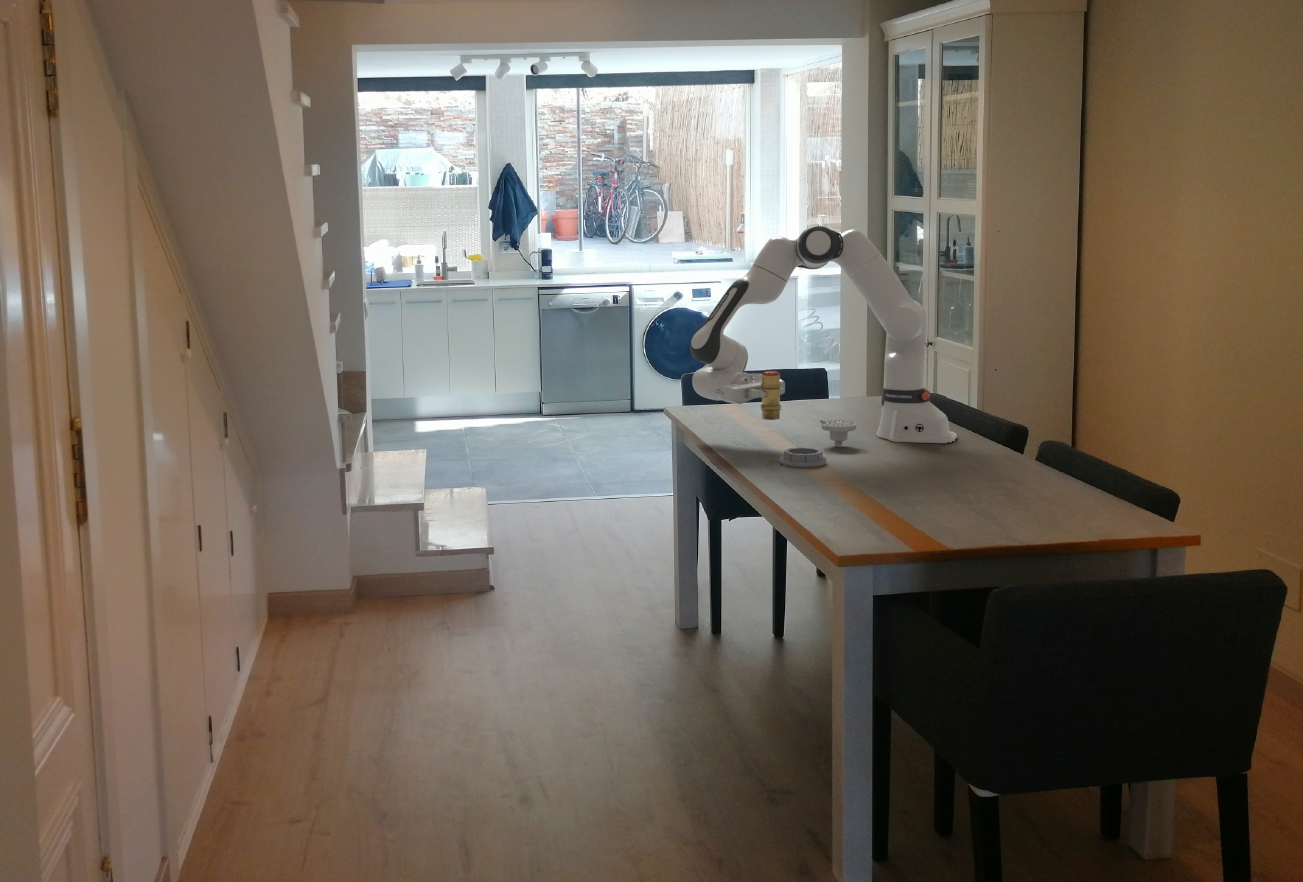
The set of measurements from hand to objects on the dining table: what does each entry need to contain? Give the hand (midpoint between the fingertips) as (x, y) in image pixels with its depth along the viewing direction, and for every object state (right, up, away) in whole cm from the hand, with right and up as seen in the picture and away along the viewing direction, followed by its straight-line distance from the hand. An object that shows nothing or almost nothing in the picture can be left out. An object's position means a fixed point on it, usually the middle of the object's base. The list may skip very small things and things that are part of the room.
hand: (773, 393), depth 340 cm
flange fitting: (+7, -19, -13) cm, 24 cm away
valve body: (0, -7, +2) cm, 7 cm away
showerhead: (+19, -15, +9) cm, 25 cm away
